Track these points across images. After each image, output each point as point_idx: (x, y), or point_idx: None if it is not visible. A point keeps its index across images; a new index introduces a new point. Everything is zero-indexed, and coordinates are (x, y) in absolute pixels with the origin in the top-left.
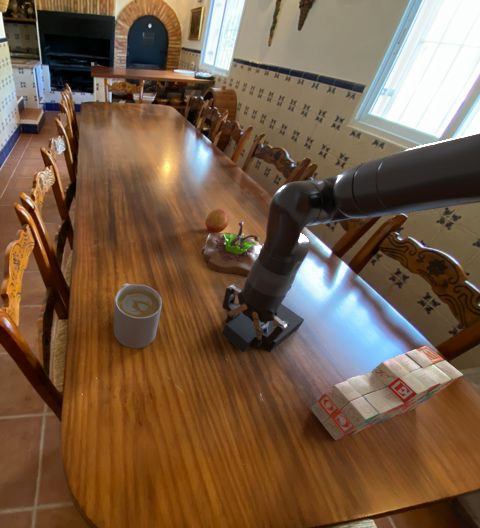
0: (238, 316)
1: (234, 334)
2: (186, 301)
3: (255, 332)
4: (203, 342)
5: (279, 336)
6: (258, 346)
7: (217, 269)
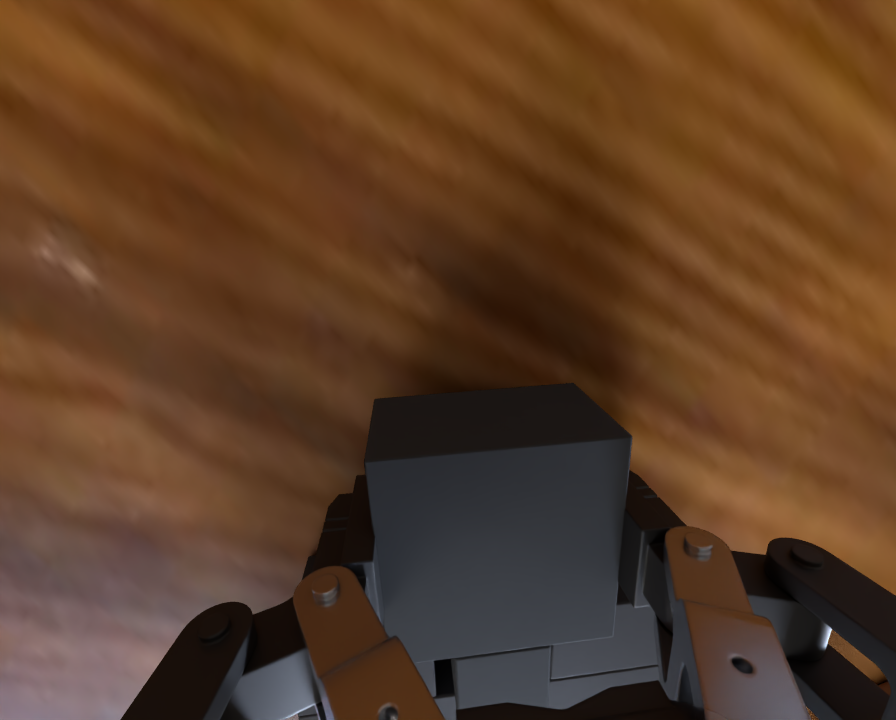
0: (612, 587)
1: (508, 431)
2: (886, 379)
3: (415, 593)
4: (600, 229)
5: None
6: (329, 521)
7: None
